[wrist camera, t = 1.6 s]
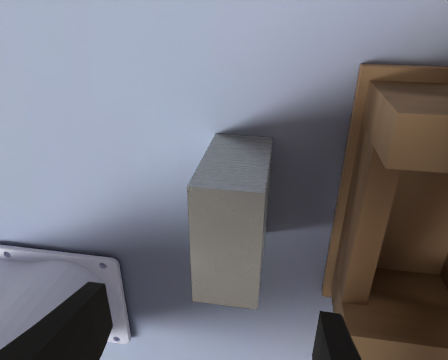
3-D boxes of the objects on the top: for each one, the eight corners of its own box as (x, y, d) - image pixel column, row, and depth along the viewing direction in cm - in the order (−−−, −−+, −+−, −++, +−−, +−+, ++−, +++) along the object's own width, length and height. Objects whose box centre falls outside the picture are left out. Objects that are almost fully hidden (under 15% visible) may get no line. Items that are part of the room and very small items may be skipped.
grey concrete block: (216, 227, 22) (192, 301, 17) (215, 133, 19) (187, 186, 14) (265, 232, 22) (257, 309, 16) (272, 137, 19) (265, 193, 14)
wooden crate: (321, 289, 23) (330, 370, 18) (360, 63, 17) (389, 94, 12) (452, 304, 22) (499, 396, 17) (546, 69, 15) (664, 106, 11)
